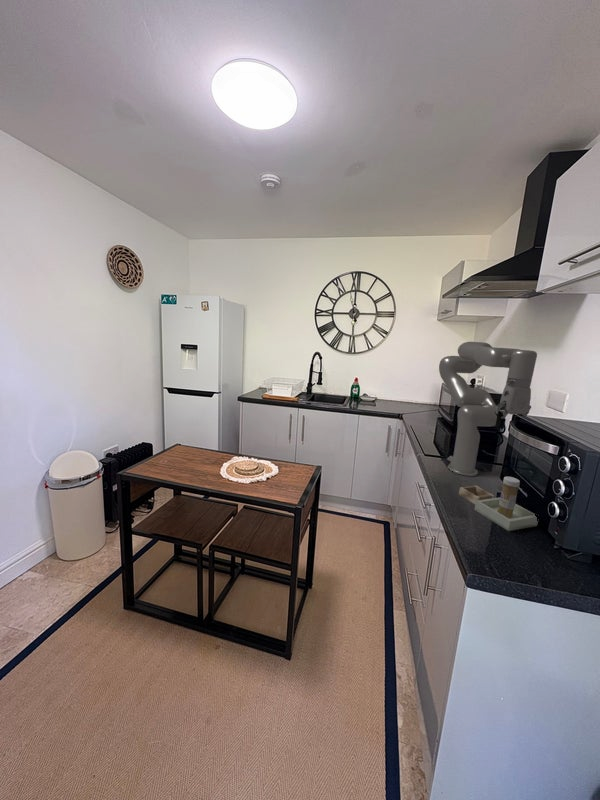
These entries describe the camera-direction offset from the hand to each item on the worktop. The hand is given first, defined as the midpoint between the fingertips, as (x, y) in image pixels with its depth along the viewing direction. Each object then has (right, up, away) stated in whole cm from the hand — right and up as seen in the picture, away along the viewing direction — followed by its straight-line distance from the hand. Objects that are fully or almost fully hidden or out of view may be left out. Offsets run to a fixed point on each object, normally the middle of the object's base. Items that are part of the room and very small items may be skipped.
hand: (508, 427), depth 119 cm
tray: (-9, -30, -12) cm, 34 cm away
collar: (-12, -28, +1) cm, 30 cm away
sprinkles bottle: (-9, -30, -12) cm, 33 cm away
